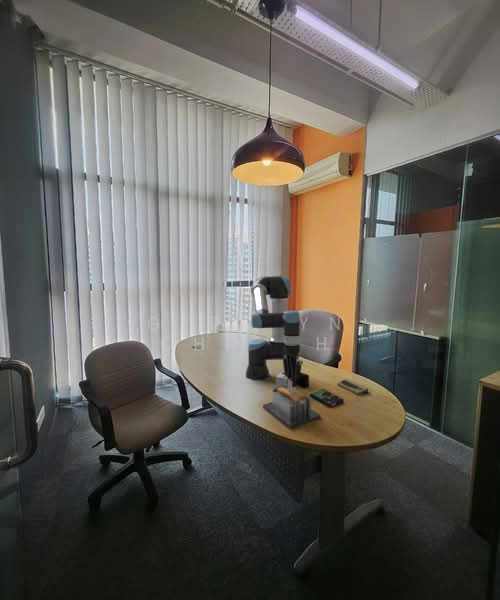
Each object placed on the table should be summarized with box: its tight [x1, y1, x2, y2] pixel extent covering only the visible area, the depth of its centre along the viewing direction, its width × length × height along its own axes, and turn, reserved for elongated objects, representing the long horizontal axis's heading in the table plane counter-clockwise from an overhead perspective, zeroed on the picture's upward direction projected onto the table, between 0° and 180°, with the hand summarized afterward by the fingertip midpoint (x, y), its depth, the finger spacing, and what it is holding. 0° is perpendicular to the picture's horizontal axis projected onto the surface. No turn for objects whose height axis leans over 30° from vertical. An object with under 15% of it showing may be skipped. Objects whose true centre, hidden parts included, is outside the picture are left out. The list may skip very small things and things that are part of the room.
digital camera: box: [296, 371, 310, 389], centre depth 166 cm, size 10×5×7 cm, turn 42°
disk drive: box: [309, 388, 345, 409], centre depth 147 cm, size 10×3×15 cm
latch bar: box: [277, 387, 308, 400], centre depth 134 cm, size 19×4×2 cm, turn 30°
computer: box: [337, 378, 369, 397], centre depth 160 cm, size 16×8×3 cm, turn 28°
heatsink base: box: [262, 385, 322, 430], centre depth 134 cm, size 22×18×10 cm
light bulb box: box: [275, 370, 288, 393], centre depth 156 cm, size 11×7×11 cm, turn 152°
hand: (292, 392), depth 132 cm, fingers closed
